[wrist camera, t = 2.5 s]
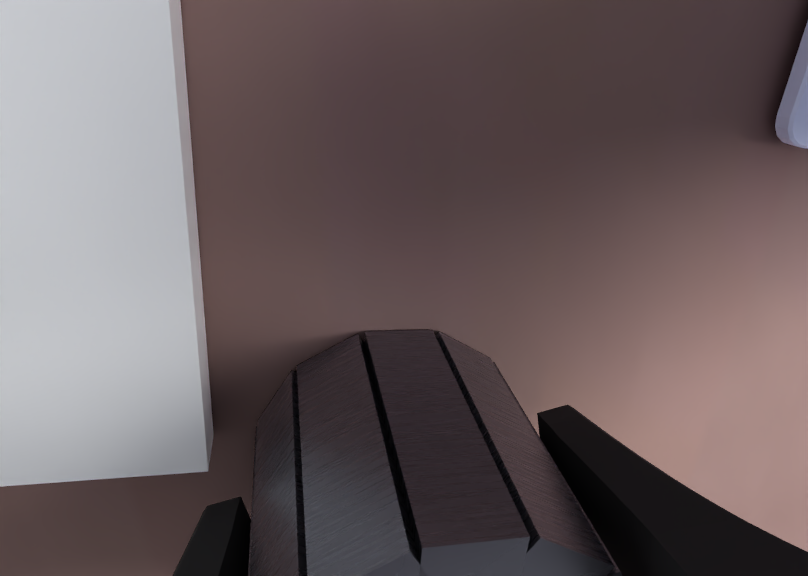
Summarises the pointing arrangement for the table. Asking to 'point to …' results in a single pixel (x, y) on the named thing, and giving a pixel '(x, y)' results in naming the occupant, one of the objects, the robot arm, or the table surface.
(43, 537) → the table surface
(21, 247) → the white square peg stand
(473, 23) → the table surface
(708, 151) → the table surface
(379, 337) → the gray grooved hollow cylinder
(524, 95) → the table surface
